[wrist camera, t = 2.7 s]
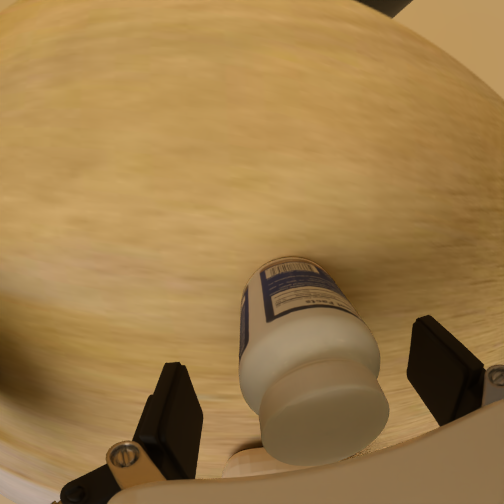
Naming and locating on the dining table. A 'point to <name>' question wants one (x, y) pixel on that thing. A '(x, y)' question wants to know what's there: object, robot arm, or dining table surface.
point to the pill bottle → (308, 365)
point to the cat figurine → (255, 464)
